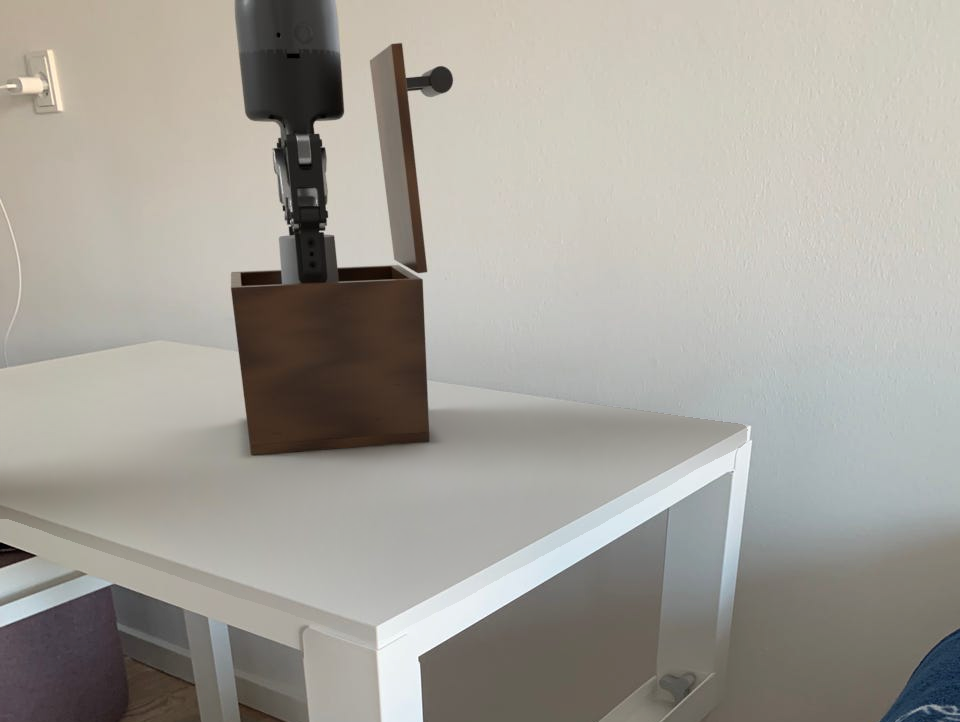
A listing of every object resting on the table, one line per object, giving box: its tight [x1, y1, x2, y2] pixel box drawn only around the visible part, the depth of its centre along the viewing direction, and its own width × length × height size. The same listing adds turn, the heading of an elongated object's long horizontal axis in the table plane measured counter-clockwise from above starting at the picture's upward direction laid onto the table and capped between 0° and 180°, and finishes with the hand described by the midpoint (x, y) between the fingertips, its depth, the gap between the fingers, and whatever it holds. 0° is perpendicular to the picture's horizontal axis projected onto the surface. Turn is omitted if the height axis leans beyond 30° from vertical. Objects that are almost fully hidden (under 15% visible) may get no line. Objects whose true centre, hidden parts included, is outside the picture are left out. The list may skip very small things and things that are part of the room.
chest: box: [230, 264, 430, 456], centre depth 85 cm, size 15×13×13 cm
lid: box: [369, 42, 454, 274], centre depth 80 cm, size 15×13×5 cm
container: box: [278, 233, 339, 284], centre depth 84 cm, size 5×5×15 cm
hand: (309, 278), depth 82 cm, fingers open, 8 cm apart
